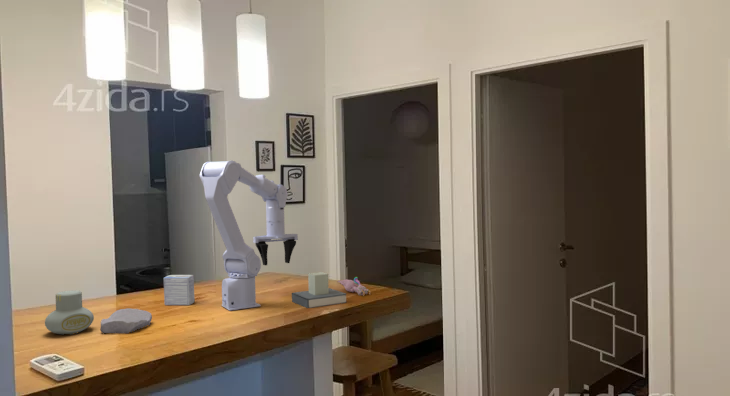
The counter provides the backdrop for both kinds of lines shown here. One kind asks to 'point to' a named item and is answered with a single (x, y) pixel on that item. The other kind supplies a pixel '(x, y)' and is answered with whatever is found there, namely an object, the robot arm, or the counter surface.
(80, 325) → the air freshener
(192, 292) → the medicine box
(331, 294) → the book
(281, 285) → the counter surface
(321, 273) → the sage block
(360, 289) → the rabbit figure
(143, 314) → the stone block
